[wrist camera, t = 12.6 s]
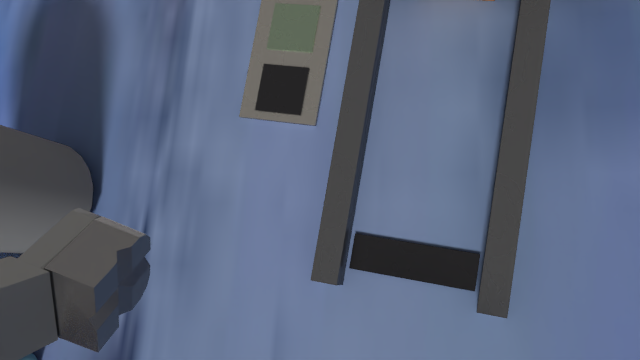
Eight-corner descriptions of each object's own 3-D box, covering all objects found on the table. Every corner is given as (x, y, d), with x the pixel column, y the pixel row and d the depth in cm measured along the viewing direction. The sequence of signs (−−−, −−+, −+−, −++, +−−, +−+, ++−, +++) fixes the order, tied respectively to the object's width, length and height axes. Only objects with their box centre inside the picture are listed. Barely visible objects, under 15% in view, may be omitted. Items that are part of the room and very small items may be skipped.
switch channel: (505, 316, 31) (509, 322, 28) (213, 259, 36) (181, 258, 32) (564, -112, 34) (574, -161, 30) (284, -112, 39) (263, -153, 35)
